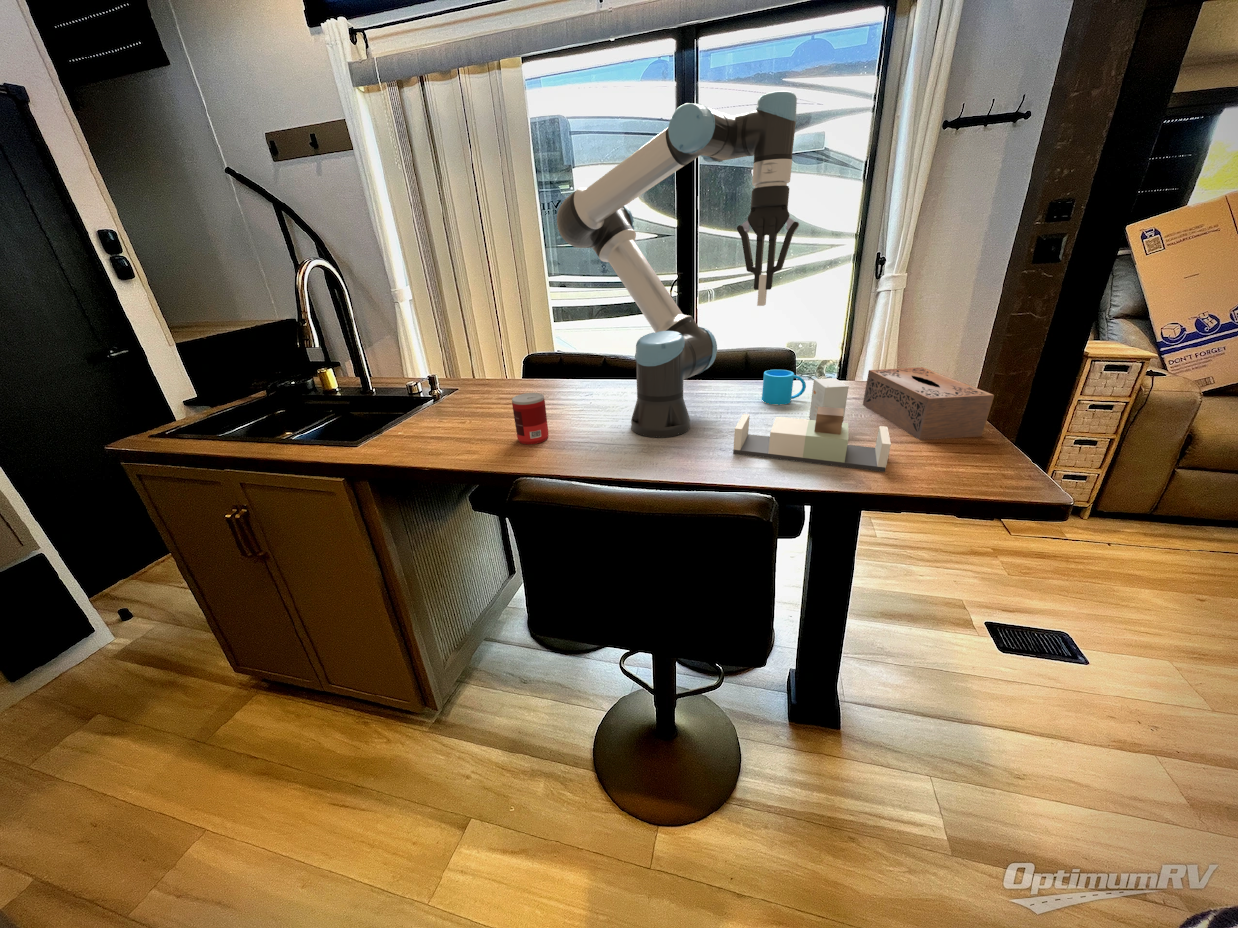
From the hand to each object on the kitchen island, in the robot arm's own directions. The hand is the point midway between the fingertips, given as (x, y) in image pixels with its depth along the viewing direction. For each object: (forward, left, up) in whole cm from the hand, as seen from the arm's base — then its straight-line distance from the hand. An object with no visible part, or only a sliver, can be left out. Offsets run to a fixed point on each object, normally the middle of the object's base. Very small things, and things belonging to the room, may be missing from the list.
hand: (761, 305), depth 107 cm
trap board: (+14, -14, -29) cm, 35 cm away
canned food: (-50, -25, -30) cm, 63 cm away
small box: (+17, +7, -30) cm, 35 cm away
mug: (+5, +23, -30) cm, 38 cm away
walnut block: (+17, -14, -23) cm, 32 cm away
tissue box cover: (+38, +16, -30) cm, 51 cm away
